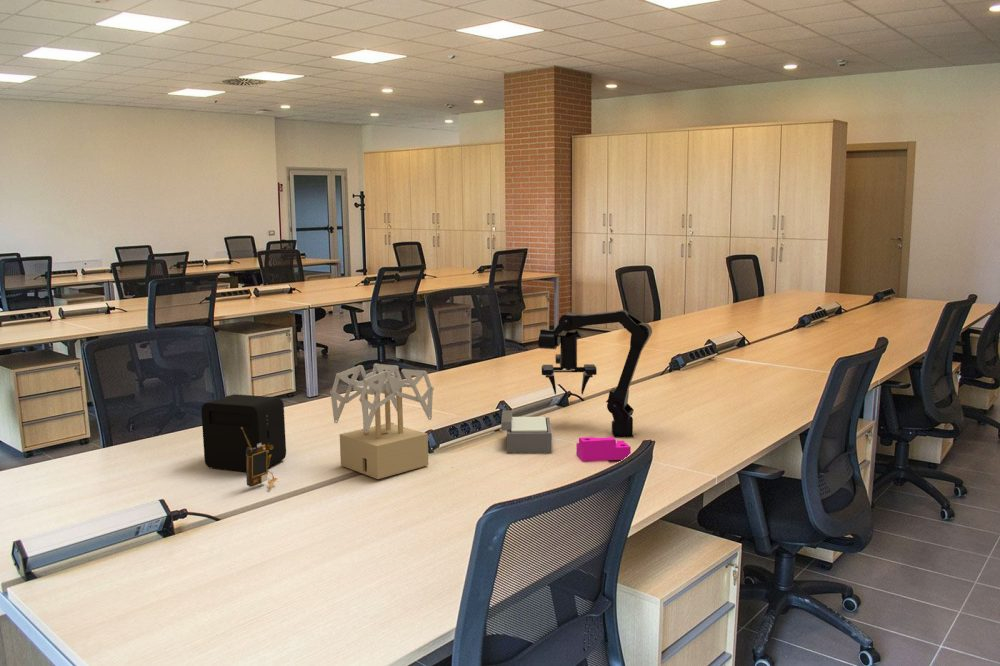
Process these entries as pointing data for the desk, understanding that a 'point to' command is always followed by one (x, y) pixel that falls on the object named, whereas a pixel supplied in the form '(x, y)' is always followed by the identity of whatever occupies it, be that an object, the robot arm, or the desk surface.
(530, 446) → the hatch box
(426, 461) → the kinetic sculpture
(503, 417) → the trapdoor
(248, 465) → the walkie talkie
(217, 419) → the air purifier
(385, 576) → the desk surface
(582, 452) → the magenta saddle bracket
